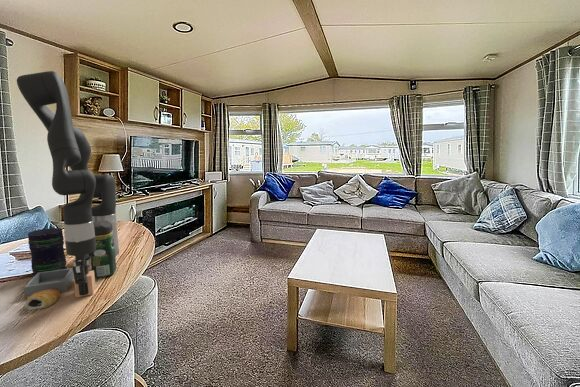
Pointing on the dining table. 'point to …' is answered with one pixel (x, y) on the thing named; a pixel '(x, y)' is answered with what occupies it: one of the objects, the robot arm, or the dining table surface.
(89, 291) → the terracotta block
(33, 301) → the pastry
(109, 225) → the coffee jar
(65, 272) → the charcoal tray
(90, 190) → the robot arm
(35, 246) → the storage jar
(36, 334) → the dining table surface
